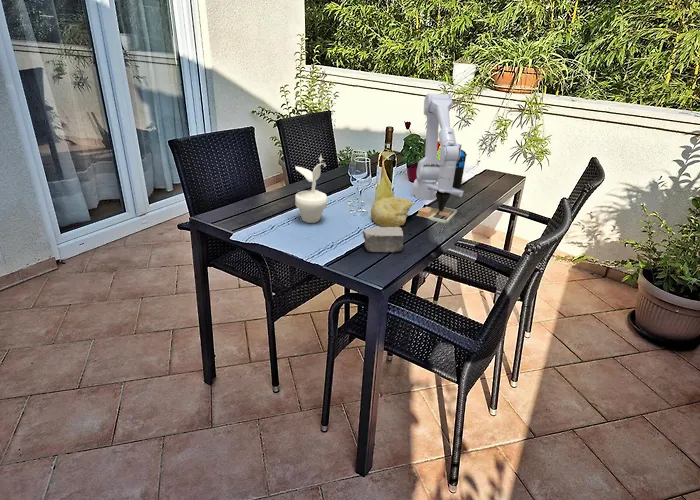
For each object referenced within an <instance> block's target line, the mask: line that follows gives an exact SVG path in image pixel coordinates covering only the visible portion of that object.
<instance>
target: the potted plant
mask: <svg viewBox="0 0 700 500" xmlns="http://www.w3.org/2000/svg"><path fill="white" fill-rule="evenodd" d="M317 159H318V160H319V164H316V166H315V167H314V168H313V171H311V170H310V169H307V168H305V167H302V166H296V165H294V168H295V170H296V172H298V173H300V174H301V175H302V176H304V178H305V179H306V181H308V182H309V183H311V190H302V191H298V192H297V193H296V194H295V195H294V196H295V197H294V198H295V200H294V201H295V204H294V205H295V207H296V208H297V209H298V212H299V214H300V216H301V220H302V221H303V222H304V223H307V224H315V223H317V222H319V221H320V220H321V218H322V214H323V213H324V210H325V209H326V208H327V206H328V195H327V194H326V193H324V192H322V191H319V190H318V189H316V187H317V180H318V179H319V178H320V177H321V171H322V169H321V166H322V165H323V167H324V168H325V167H326V166H327V164H326V163H325V162H322V161H323V160H325V159H324V158H323V157H322V155H319V157H318V158H317Z"/></svg>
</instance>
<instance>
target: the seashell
mask: <svg viewBox="0 0 700 500" xmlns="http://www.w3.org/2000/svg"><path fill="white" fill-rule="evenodd" d="M413 206H414V202H413V201H412V200H409V199H408V198H403V197H393V196H391V197H382V198H381V199H380V198H379V199H377V200H376V201H375V202H374V203H373V204H372V207H371V209H370V217H371V219H372V221H373V223H374V224H376V225H377V226H378V227H379V228H380V227H400V228H401V226H404V225H405V223H406V221H407V214H408V213H409V211H410V210H411V208H412V207H413Z"/></svg>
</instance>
